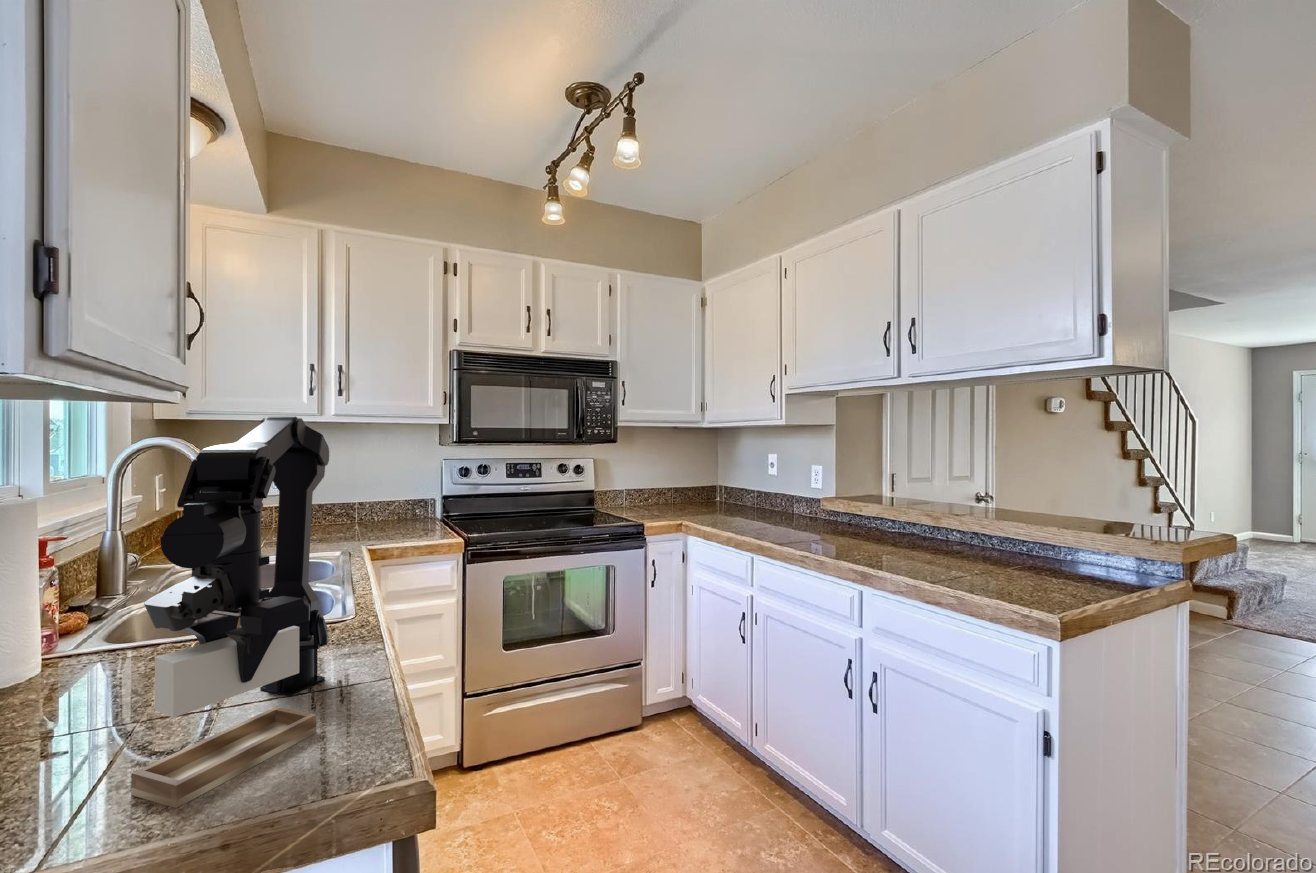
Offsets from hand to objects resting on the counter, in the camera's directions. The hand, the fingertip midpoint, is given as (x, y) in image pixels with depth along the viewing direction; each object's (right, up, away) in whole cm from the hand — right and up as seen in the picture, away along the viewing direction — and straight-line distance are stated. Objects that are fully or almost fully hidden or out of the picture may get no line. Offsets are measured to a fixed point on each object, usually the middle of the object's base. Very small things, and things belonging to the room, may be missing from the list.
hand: (232, 679), depth 73 cm
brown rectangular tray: (0, -10, 0) cm, 10 cm away
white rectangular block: (0, -1, 0) cm, 1 cm away
